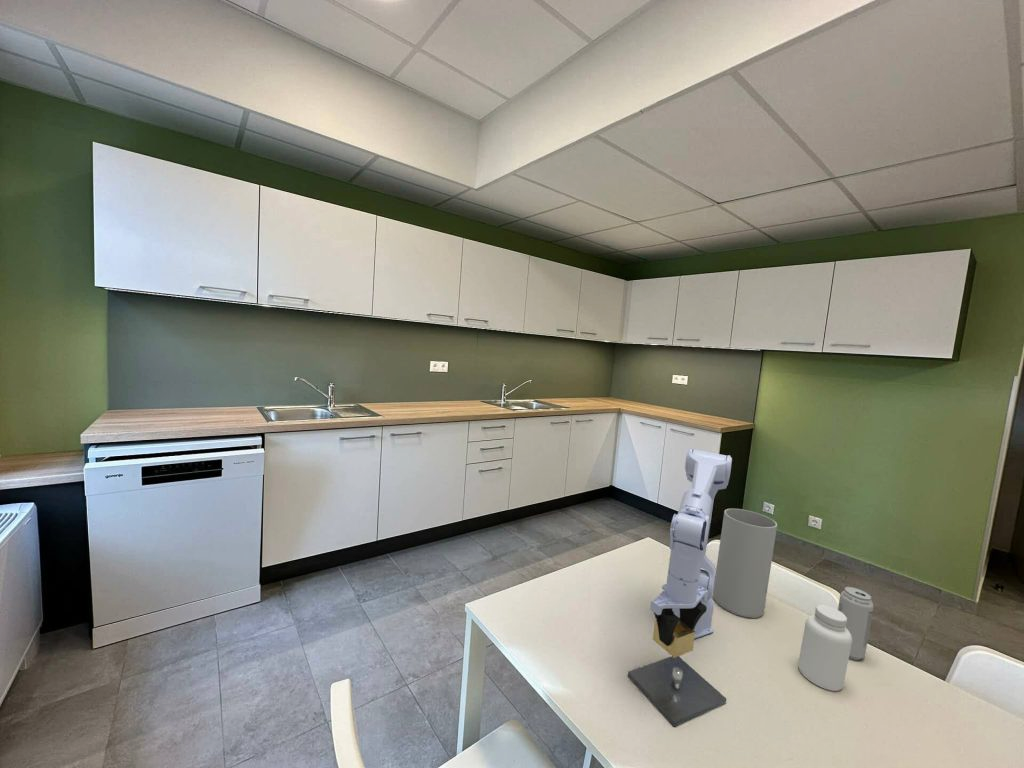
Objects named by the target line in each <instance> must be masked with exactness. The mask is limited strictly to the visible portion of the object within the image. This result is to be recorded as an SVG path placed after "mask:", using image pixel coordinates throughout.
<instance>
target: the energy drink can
mask: <svg viewBox="0 0 1024 768" xmlns="http://www.w3.org/2000/svg"><path fill="white" fill-rule="evenodd" d="M837 610H839V611H840V612H842V613H843V614H844V615H845V616H846V617H847V624H846V629H847V630H848V631H849V632H850V634H851V636H852V644H851V649H850V655H849V660H850V659H851V660H853V661H860V660H861V659H864V658H865V657H866V653H867V648H868V647H867V646H868V640H869V635H870V629H871V623H872V618H873V612H874V603H873V601H872V595H870V594H869V593H867V592H866V591H864V590H861V589H859V588H857V587H851V586H846V587H844V590H842V591H841V593H840V596H839V601H838V607H837Z"/></svg>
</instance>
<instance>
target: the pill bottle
mask: <svg viewBox="0 0 1024 768" xmlns="http://www.w3.org/2000/svg"><path fill="white" fill-rule="evenodd" d="M846 624H847V617H846V616H845V615H844V614H843V613H842V612H840V611H839V610H838V608H835V607H832V606H829V605H825V604H818V605H816V606H815V610H814V614H812V615H810V616H807V618H806V619H805V623H804V629H803V635H802V638H801V639H802V641H801V645H800V651H799V657H798V663H797V664H798V670H799V672H800V673H801V674H802V675H803V676H804V678H806V679H807V680H808V681H809V682H811V683H812V684H814V685H816V686H818V687H820V688H822V689H825V690H827V691H833V692H838V691H841V690H842V689H843V687H844V685H845V679H846V676H847V674H846V673H847V671H848V665H849V660H850V658H849V655H850V649H851V644H852V636H851V634H850V632H849V631H848V630H847V629H846Z"/></svg>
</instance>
